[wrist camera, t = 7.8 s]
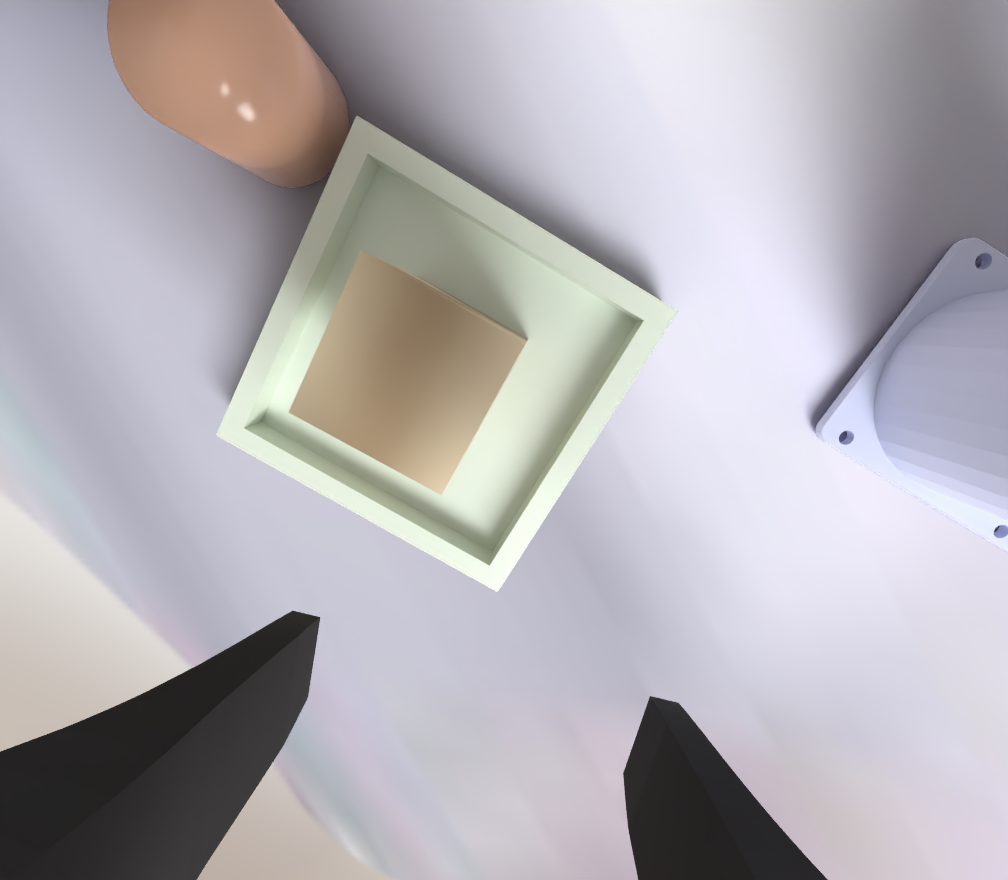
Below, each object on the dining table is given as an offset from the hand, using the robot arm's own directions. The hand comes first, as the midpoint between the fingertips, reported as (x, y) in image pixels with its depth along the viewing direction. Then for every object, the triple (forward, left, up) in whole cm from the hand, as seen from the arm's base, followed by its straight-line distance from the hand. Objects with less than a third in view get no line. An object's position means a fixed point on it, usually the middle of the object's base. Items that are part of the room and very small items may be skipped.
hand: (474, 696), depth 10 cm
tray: (+5, -4, -10) cm, 12 cm away
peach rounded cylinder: (+14, -9, -10) cm, 19 cm away
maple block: (+5, -4, -9) cm, 11 cm away
